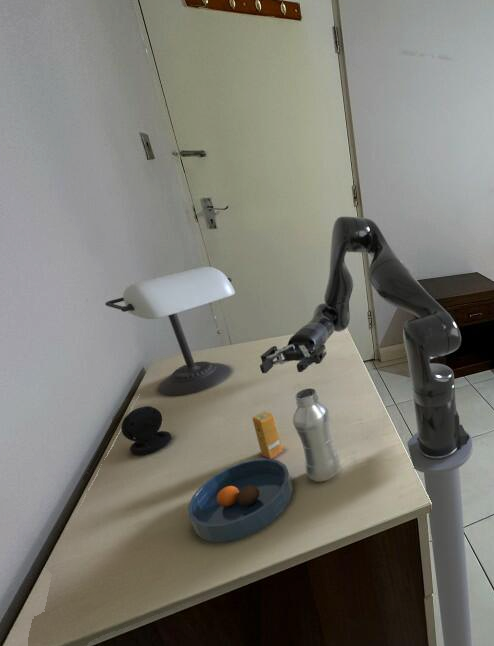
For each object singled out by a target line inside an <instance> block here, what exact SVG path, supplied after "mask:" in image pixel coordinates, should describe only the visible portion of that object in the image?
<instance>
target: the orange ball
mask: <svg viewBox="0 0 494 646" xmlns="http://www.w3.org/2000/svg"><path fill="white" fill-rule="evenodd" d="M238 493H239V490H238V489H237V488H236V487H234V486H227V487H225V488H223V489H222V490H220V492H219V493H218V495H217V502H218V504H219V505H221V506H224V507H228V506H231V505H233V504H234V503H236V501H237V495H238Z"/></svg>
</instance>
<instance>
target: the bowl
mask: <svg viewBox="0 0 494 646" xmlns="http://www.w3.org/2000/svg"><path fill="white" fill-rule="evenodd" d="M249 485H252V486H255V487H257V488H258V490H259V497H258V499H257V501H256V502H255V503H254V504H252V505H249V506H242V505H240V504H239V503H238V501H236V503H234V504H233V505H231V506H228V507H224V506H221V505H219V504H218V502H217V495H218V493H219V492H220V490H222V489H223V488H225V487H227V486H234V487H236V488H237V489H238V490H239V491H240V490H241V489H242V488H244V487H246V486H249ZM292 495H293V483H292V479H291V475H290V472H289V470H288V467H287V466H286V464H284V463H283V462H281V461H280V460H277V459H275V458H274V459H273V458H272V459H270V458H268V457H264V458H253V459H249V460H245V461H241V462H238V463H236V464H235V465H231V466H229V467H226V468H225V469H223V470H222V471H219V472H218V473H217V474H214V475H213V476H211V477H210V478H209V479H208V480H207V481H205V482H204V483H203V484H202V485H201V486H200V487H199V488H198V489H197V490H196V492H195V493H194V494H193V495H192V497H191V499H190V502H189V504H188V506H187V512H188V518H189V521H190V523H191V525H192V527H193V529H194V532H195V533H196V534H197V535H198V536H199V538H200V539H202V540H204V541H207V542H210V543H218V544H219V543H228V542H234V541H238V540H240V539H244V538H246V537H249V536H251V535H253V534H256V533H257V532H259V531H261V530H262V529H264V528H266V527H267V526H268V525H270V524H271V523H272V522H273V521H274V520H276V519H277V518H278V517H279V516H280V515H281V514H282V512H284V510H285V509H286V508H287V507H288V505H289V503H290V501H291V498H292Z"/></svg>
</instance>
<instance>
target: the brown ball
mask: <svg viewBox="0 0 494 646" xmlns="http://www.w3.org/2000/svg"><path fill="white" fill-rule="evenodd" d="M258 497H259V490H258V488H257V487H255V486H252V485H249V486H246V487H244V488H242V489H241V490H240V491H239V493H238V495H237V501H238V503H239V504H240V505H242V506H249V505H252V504H254V503H255V502H256V501H257V499H258Z"/></svg>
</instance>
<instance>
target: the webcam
mask: <svg viewBox="0 0 494 646" xmlns="http://www.w3.org/2000/svg"><path fill="white" fill-rule="evenodd" d="M162 423H163V414H162V413H161V411H160V410H159V409H158V408H156V407H154V406H151V405H149V406H148V405H145V406H139V407H137V408H135V409H133V410H132V411H130V412H129V413H128V414H127V415H126V416H125V417H124V419H123V420H122V423H121V426H120V427H121V429H120V430H121V434H122V435H123V437H124V438H125V439H127V440H129V441H132V442H133V443H132V444H131V446H130V448H129V450H130V453H131V454H132V455H135V456H146V455H149V454H153V453H155V452H157V451H159V450H161V449H163V448H164V447H166V446H167V445H168V444H170V442H171V440H172V434H171V433H170V432H169V431H166V430H160V428H161V426H162ZM142 445H147V447H144V448H140V447H141V446H142Z"/></svg>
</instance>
